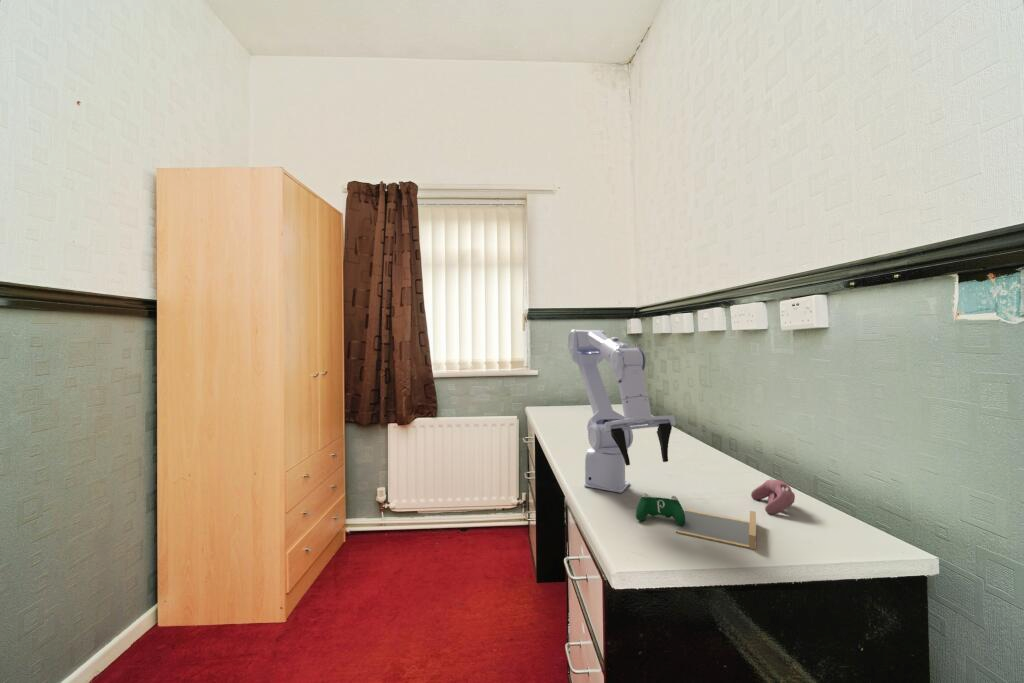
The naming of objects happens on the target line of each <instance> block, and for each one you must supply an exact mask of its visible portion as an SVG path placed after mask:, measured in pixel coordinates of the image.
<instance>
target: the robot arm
mask: <svg viewBox="0 0 1024 683" xmlns="http://www.w3.org/2000/svg"><path fill="white" fill-rule="evenodd" d="M567 347H568V351H569V354H570V357H571V359H572V361H573V362H574V363H575V364H576V365H577V366H578V369H579V373H580V376H581V378H582V381H583V385H584V388H585V392H586V395H587V398H588V401H589V404H590V408H591V410H592V413H593V415H592V416H591V417H590V418H589V420H588V422H587V425H586V429H587V438H588V443H589V445H590V447H589V448H588V449H587V451H586V453H585V459H584V460H585V463H584V464H585V465H584V470H585V471H584V473H585V476H584V481H585V482H584V485H583V486H584V487H587V488H593V489H599V490H603V491H609V492H614V493H619V494H620V493H623V492H624V491H625V490H626V489H627V488H628V486H629V485H630V484H631V482H630V481H628V480H626V467H627V466H630V465H631V460H630V456H629V454H628V453H629V448H630V447H631V446H632V444H633V442H634V433H633V430H640V429H647V428H648V429H649V428H657V431H656V434H657V438H658V442H659V446H660V451H661V452H660V453H661V459H662V462H663V463H667V462H669V456H668V455H669V453H668V452H669V443H670V438H671V432H672V429H673V427H674V426H675V425H676V424H677V423H676V418H675V415H674V414H672V415H671V414H670V415H652V411H651V410H652V409H651V405H650V399H649V395H648V390H647V385H646V381H645V375H644V371H645V368H646V366H647V358H646V354H645V352H644V350H643V349H642V348H641V347H634V348H632V347H630V346H629V345H628V344H627V343H626V342H624V343H623V342H622V341H621V340H620V338H619V337H618V336H616V337H615V336H612V337H611V338H608V336H607V332H606V331H605V330H603V329H574V328H573V329H571V330H570V331H569V333H568V337H567ZM603 360H605V361H607V362H608V363H609V364H610V369H611V372H612V373H613V374H614V380H615V381H616V382H618V383H617V384H618V387H619V389H618V390H619V393H620V394H619V395H620V399H621V400H620V401H621V406H622V411H623V415H622V414H620V413H619V412H617V411H615V410H613V405H612V404H611V400H610V398H609V395H608V393H607V390H606V387H605V384H604V381H603V378H602V376H601V373H600V371H599V367H598V364H600V363H602V362H603Z"/></svg>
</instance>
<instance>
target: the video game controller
mask: <svg viewBox="0 0 1024 683" xmlns="http://www.w3.org/2000/svg"><path fill="white" fill-rule="evenodd" d="M750 496H751V498H752V499H753V500H757V501H758V500H763V499H765V498H767V502H768V503H767V505H765V512H766V513H767V515H777V514H780V513H782V512H783V511H785V510H786V509H787V508H789V507H791V506H792V505H794V502H795V500H796V496H795V492H793V491H792V489H791V487H790V485H788V484H787V483H786V482H784V481H782V480H780V479H773V478H772V477H771V478H769V479H767V480H766V481H764V483H762V484H761V485H759V486H758V487H756V488H755V489H753V490H752V491H751V494H750Z"/></svg>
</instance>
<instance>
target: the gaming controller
mask: <svg viewBox="0 0 1024 683" xmlns="http://www.w3.org/2000/svg"><path fill="white" fill-rule="evenodd" d="M684 512H685V510H684V509H683V506H682V504H681V502H680V500H678V497H677V495H671V498H665V497H656V496H654V497H653V496H649V494H648V493H645V492H644V493H643V494H642V496H641V497H640V499H639V502H638V503H637V506H636V511H635V517H636V520H637V521H639V522H643V521H645V520H646V518H647V517H648V515H649V516H651V517H665V518H668V519H670V518H673V519H674V522H675V523H676V524H677V525H678V526H679V525H681V526H683V525H685V514H684Z"/></svg>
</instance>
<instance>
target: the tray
mask: <svg viewBox="0 0 1024 683" xmlns="http://www.w3.org/2000/svg"><path fill="white" fill-rule="evenodd" d="M684 514H685V525H683V526H681V525H678V526H677V529H676V534H681V535H685V536H690V537H694V538H699V539H703V540H709V541H713V542H718V543H722V544H727V545H732V546H737V547H741V548H746V549H751V550H756V549H757V548H756V547H757V544H756V543H757V542H756V540H757V539H756V538H757V526H756V525H757V522H756V521H757V515H756V514H757V511H753V510H749V520H748V521H747V520H742V519H739V518H732V517H727V516H722V515H717V514H710V513H705V512H701V511H695V510H690V509H685V510H684Z"/></svg>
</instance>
